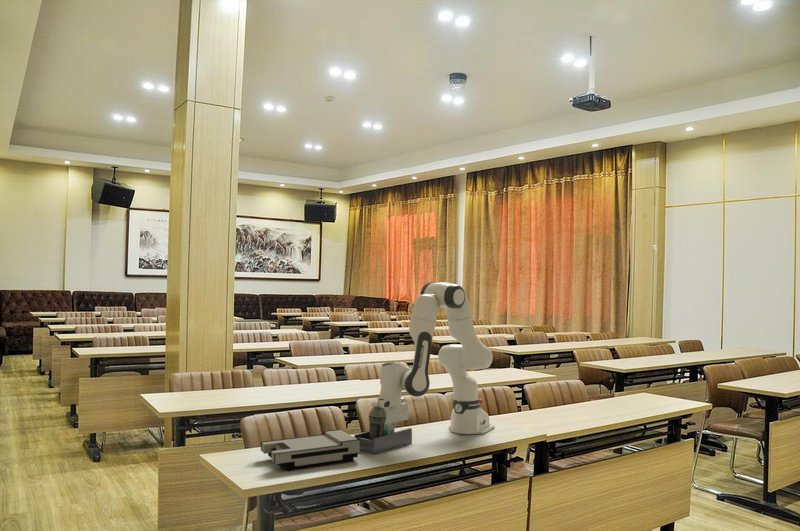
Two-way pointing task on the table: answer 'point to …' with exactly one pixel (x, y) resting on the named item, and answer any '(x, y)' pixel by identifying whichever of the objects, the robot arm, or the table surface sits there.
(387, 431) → the pusher
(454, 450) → the table surface
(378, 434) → the beverage cup
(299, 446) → the game console
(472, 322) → the robot arm
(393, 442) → the grey open box
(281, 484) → the table surface
